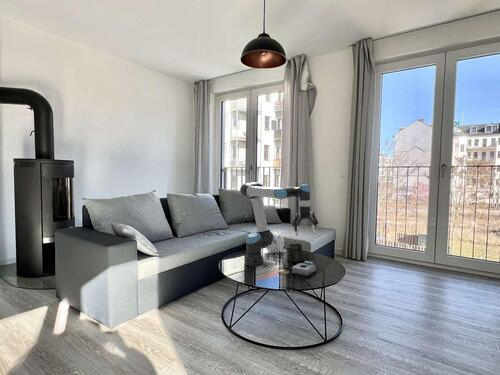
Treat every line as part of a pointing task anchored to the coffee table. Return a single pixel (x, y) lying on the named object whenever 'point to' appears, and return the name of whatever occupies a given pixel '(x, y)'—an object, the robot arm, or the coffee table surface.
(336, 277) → the coffee table surface
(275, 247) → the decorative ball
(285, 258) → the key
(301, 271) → the block
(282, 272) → the coaster
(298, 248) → the mug
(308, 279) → the coffee table surface
